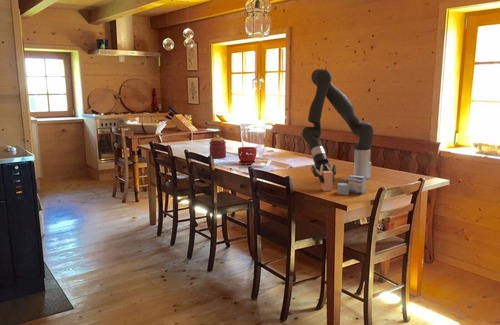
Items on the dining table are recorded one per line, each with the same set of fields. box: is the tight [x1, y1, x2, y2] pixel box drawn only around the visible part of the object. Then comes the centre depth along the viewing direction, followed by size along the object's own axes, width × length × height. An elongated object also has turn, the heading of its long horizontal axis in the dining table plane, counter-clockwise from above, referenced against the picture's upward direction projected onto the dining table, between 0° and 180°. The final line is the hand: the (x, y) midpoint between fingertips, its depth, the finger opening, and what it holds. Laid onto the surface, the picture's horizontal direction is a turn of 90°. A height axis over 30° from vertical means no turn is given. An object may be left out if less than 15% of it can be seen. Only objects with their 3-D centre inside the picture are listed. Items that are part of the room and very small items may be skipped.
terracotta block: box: [320, 170, 333, 192], centre depth 229 cm, size 4×4×10 cm
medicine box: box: [348, 174, 367, 195], centre depth 224 cm, size 8×4×9 cm, turn 56°
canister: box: [208, 134, 227, 160], centre depth 332 cm, size 13×13×18 cm
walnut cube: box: [339, 176, 349, 185], centre depth 235 cm, size 5×5×5 cm
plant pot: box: [237, 146, 257, 166], centre depth 304 cm, size 13×13×12 cm
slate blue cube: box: [336, 182, 350, 196], centre depth 222 cm, size 5×5×5 cm
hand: (328, 182), depth 227 cm, fingers open, 5 cm apart
